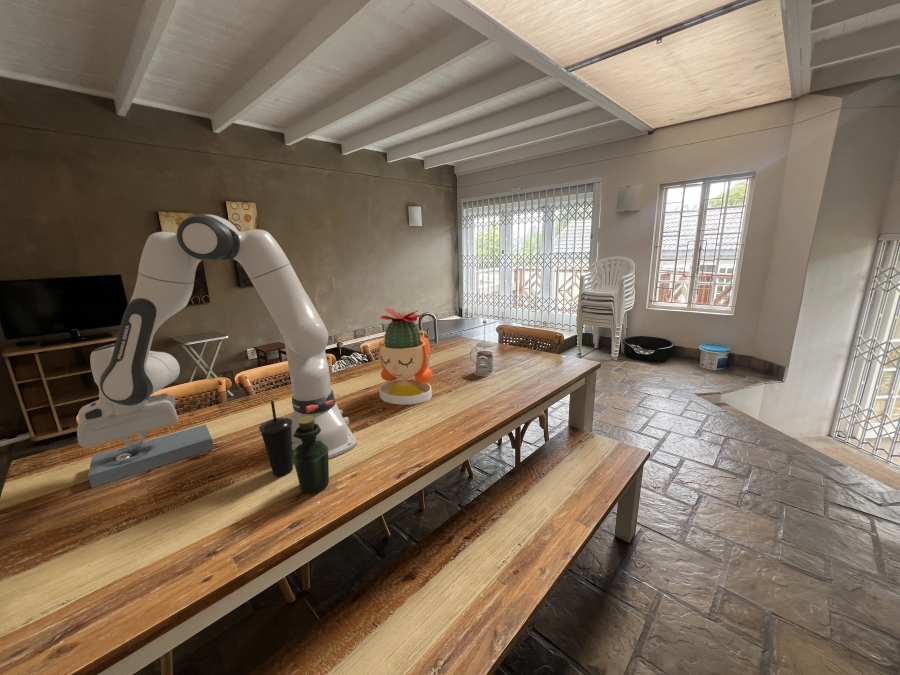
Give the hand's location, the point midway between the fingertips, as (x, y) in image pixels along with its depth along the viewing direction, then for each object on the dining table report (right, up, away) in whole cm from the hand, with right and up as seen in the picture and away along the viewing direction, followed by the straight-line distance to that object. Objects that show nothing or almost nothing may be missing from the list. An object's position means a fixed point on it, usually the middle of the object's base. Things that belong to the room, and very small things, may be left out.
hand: (137, 448), depth 97 cm
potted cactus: (+70, +8, +45) cm, 84 cm away
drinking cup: (+43, -5, -4) cm, 43 cm away
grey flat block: (+3, -4, +3) cm, 6 cm away
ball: (-2, -3, -1) cm, 4 cm away
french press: (+102, +14, +66) cm, 123 cm away
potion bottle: (+54, -6, -10) cm, 55 cm away
